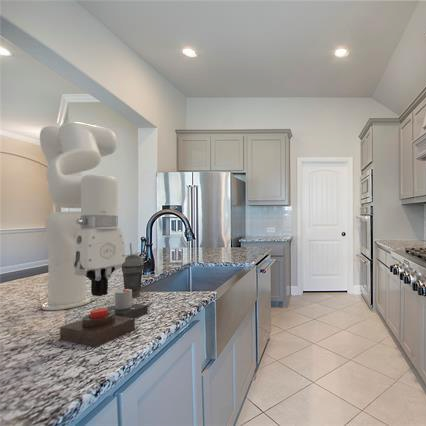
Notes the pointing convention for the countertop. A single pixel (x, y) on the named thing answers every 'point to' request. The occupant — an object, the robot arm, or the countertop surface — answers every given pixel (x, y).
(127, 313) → the knob
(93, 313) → the power button
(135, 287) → the beverage cup
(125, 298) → the dial
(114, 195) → the robot arm
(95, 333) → the power button base
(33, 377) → the countertop surface
